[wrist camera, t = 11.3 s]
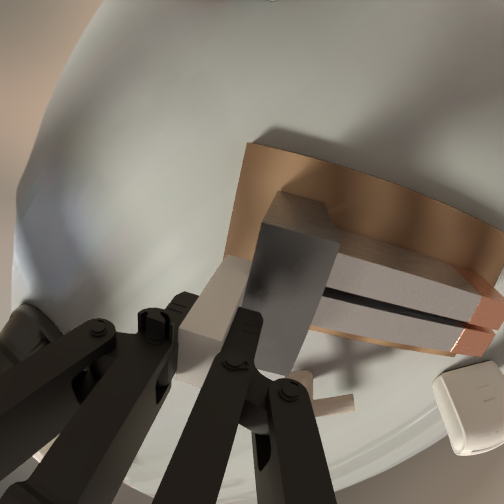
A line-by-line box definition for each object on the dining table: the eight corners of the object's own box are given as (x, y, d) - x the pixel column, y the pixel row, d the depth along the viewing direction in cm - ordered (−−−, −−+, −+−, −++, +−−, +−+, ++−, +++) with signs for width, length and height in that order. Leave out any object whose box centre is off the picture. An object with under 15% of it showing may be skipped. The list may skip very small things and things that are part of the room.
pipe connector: (344, 333, 26) (356, 412, 17) (352, 395, 29) (358, 465, 20) (249, 349, 29) (227, 424, 20) (272, 406, 32) (260, 473, 23)
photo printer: (497, 355, 25) (534, 420, 13) (486, 378, 26) (516, 442, 15) (437, 369, 26) (467, 450, 15) (427, 392, 28) (451, 469, 17)
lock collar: (253, 287, 24) (228, 361, 15) (277, 190, 20) (261, 222, 12) (294, 298, 23) (288, 376, 15) (324, 202, 20) (340, 243, 12)
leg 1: (316, 251, 22) (320, 286, 16) (325, 223, 21) (333, 250, 15) (470, 296, 20) (498, 330, 15) (480, 274, 20) (511, 305, 14)
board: (220, 293, 27) (192, 346, 20) (251, 142, 22) (226, 141, 14) (447, 346, 25) (473, 395, 18) (503, 232, 20) (550, 262, 12)
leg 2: (306, 284, 23) (306, 325, 17) (314, 258, 22) (317, 294, 17) (457, 320, 22) (481, 356, 16) (468, 300, 21) (495, 334, 15)
